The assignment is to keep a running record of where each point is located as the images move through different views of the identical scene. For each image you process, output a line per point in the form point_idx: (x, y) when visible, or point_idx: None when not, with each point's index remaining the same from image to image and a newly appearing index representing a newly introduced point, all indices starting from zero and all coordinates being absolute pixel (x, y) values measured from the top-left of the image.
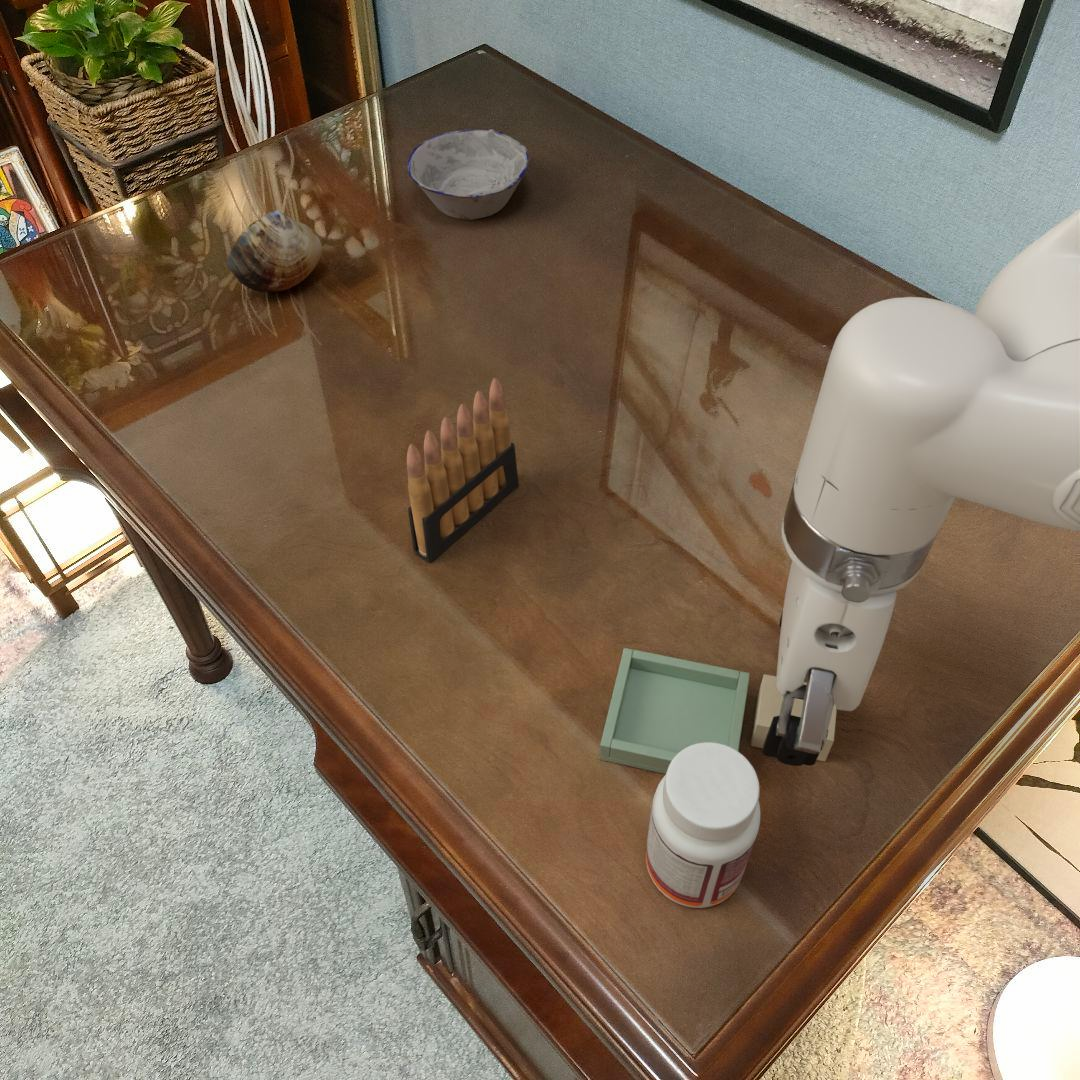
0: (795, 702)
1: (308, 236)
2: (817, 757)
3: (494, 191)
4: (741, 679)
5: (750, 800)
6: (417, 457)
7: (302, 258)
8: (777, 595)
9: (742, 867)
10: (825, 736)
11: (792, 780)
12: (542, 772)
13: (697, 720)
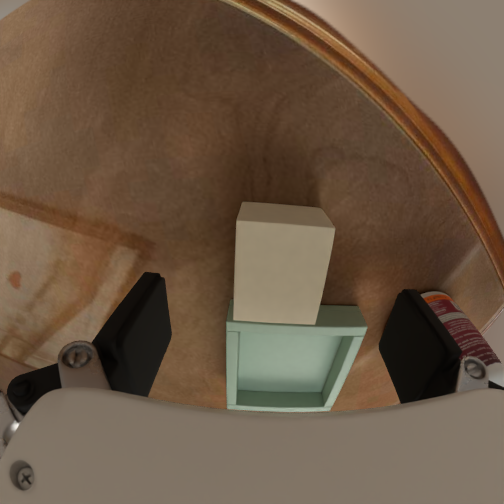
0: (273, 281)
1: None
2: (425, 301)
3: None
4: (238, 329)
5: None
6: None
7: None
8: (99, 266)
9: (479, 332)
10: (488, 379)
11: (348, 245)
12: (335, 410)
13: (286, 345)
